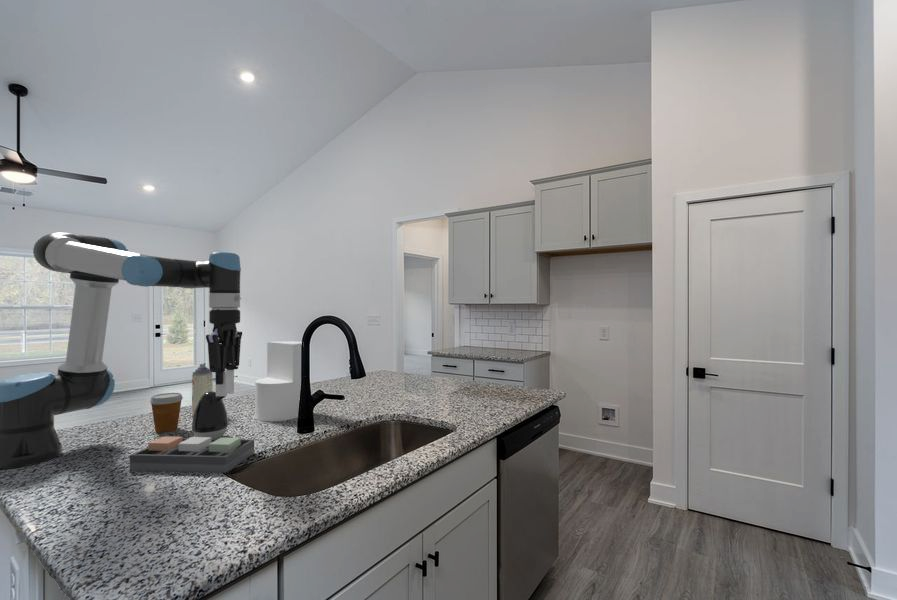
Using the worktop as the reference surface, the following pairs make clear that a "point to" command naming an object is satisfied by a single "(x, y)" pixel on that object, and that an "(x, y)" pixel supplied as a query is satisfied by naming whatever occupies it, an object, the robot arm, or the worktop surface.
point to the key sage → (224, 444)
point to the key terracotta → (164, 443)
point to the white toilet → (279, 383)
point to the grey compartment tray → (191, 459)
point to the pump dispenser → (210, 416)
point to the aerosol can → (200, 384)
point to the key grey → (194, 444)
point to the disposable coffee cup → (166, 411)
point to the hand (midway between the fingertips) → (225, 394)
